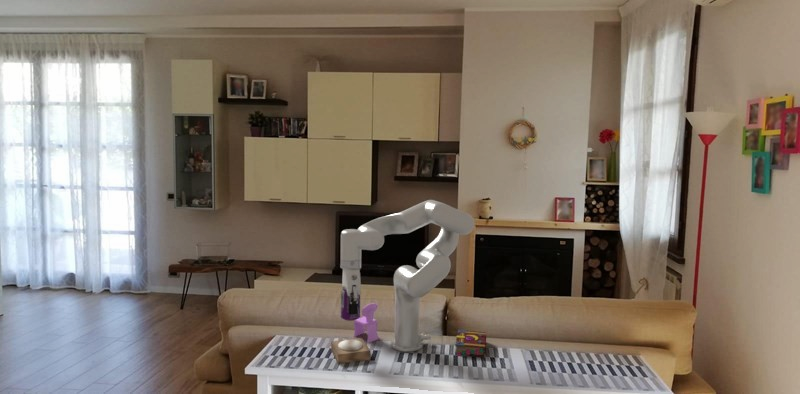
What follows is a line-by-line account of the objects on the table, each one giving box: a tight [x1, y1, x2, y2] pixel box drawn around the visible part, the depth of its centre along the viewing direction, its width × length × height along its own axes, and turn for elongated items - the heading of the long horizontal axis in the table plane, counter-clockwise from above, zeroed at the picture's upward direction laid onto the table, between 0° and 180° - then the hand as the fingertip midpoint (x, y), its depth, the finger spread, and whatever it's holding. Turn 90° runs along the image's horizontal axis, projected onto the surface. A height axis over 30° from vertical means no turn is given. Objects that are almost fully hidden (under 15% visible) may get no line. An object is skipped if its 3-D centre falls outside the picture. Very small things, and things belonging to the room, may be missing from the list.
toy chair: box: [353, 302, 380, 344], centre depth 216 cm, size 8×9×15 cm
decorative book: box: [454, 329, 487, 358], centre depth 208 cm, size 11×16×5 cm
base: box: [330, 337, 371, 365], centre depth 201 cm, size 12×12×4 cm
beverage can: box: [340, 286, 361, 322], centre depth 198 cm, size 7×7×12 cm
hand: (350, 310), depth 199 cm, fingers closed on beverage can, 7 cm apart
